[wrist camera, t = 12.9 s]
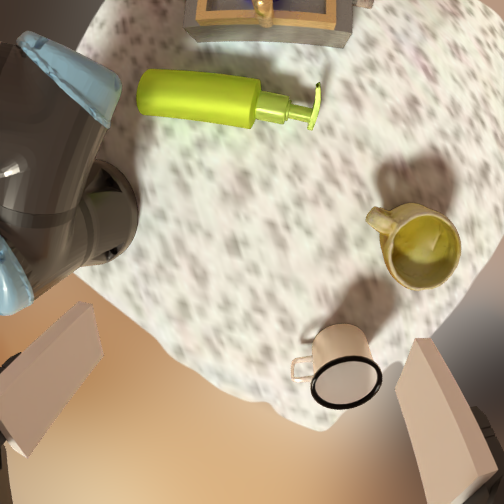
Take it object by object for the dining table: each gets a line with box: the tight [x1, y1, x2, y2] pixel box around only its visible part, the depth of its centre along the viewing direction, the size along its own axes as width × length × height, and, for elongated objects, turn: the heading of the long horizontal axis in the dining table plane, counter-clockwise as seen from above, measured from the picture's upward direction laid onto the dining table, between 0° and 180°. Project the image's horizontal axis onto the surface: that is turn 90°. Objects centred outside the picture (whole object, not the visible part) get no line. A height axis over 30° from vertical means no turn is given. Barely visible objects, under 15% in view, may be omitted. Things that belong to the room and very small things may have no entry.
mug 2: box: [365, 203, 461, 291], centre depth 34 cm, size 12×10×10 cm
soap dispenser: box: [136, 69, 321, 130], centre depth 32 cm, size 6×7×20 cm
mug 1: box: [291, 323, 382, 410], centre depth 40 cm, size 12×10×9 cm
